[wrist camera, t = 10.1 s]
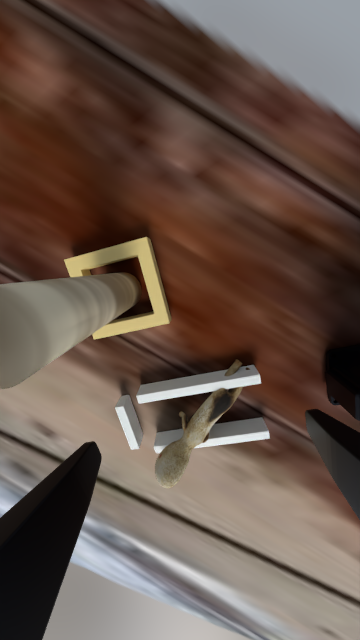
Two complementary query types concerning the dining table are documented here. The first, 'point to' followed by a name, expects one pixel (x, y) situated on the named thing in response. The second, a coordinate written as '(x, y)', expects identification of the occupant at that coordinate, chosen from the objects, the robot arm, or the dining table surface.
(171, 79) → the dining table surface
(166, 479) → the figurine
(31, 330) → the post
